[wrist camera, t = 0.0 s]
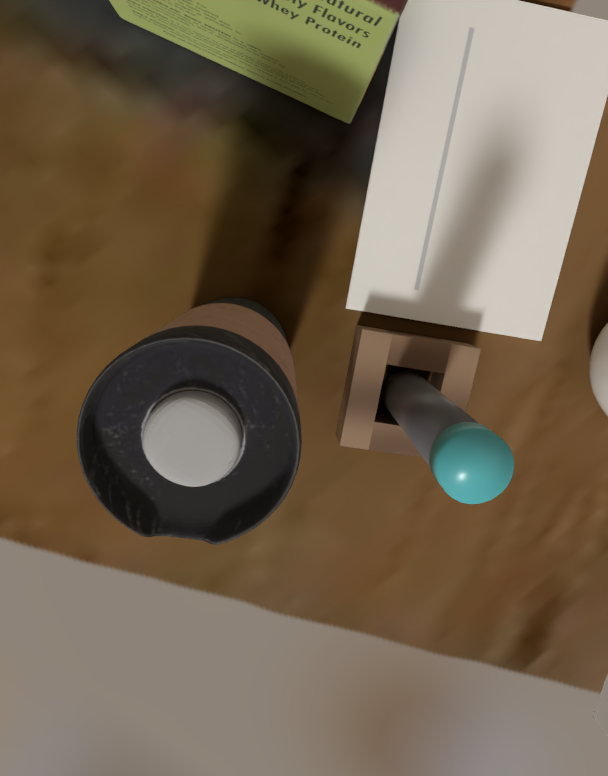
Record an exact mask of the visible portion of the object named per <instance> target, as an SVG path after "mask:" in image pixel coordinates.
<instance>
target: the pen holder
mask: <svg viewBox="0 0 608 776" xmlns="http://www.w3.org/2000/svg"><path fill="white" fill-rule="evenodd" d="M480 351H481V349H480V348H478V347H476V346H473V345H471V344H469V343H464V342H458V341H452V340H446V339H440V338H434V337H428V336H422V335H416V334H410V333H404V332H398V331H392V330H386V329H379V328H373V327H367V326H361V325H357V326H356V332H355V337H354V342H353V347H352V352H351V358H350V363H349V368H348V373H347V379H346V384H345V389H344V394H343V400H342V405H341V410H340V415H339V420H338V426H337V431H336V436H337V439H338V442H339V445H340V446H346V447H353V448H360V449H367V450H374V451H381V452H387V453H394V454H401V455H408V456H415V457H422V455H421V454H420V452H419V451H418V450H417V448H416V447H415V446H414V444H413V443H412V442H411V440H410V439H409V437H408V436H407V435H406V433H405V432H404V431H403V429H402V428H401V427H400V425H399V424H398V423H397V421H396V420H395V418H394V417H393V416H392V415H386V414H380V413H376V411H377V407H378V402H379V397H380V392H381V387H382V382H383V378H384V373H385V368H386V364H388V365H394V366H400V367H407V368H413V369H419V370H425V371H432V372H433V374H432V378H431V383H430V384H431V385H432V386H434V387H435V388H436V389H437V390H439V391H440V392H441V393H442V394H443V395H445V396H446V397H447V398H448V399H450V400H451V401H452V402H453V403H454V404H456V405H457V406H458V407H459V408H461V409H462V410H463V411H464V412H466V408H467V404H468V400H469V396H470V392H471V388H472V384H473V380H474V376H475V371H476V367H477V363H478V359H479V355H480ZM422 458H423V457H422Z"/></svg>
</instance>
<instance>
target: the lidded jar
mask: <svg viewBox="0 0 608 776" xmlns="http://www.w3.org/2000/svg"><path fill="white" fill-rule="evenodd" d="M589 375H590V383H591V387H592V390H593V393H594V395H595V397H596V399H597V401H598V403H599V405H600V407H601V408H602V410H603V411H604V412H605V414H606V415H607V416H608V322H607V324H606V325H605V326H604V328H603V329H602V330H601V332H600V334H599V335H598V337H597V339H596V341H595V343H594V346H593V349H592V352H591V357H590V366H589Z"/></svg>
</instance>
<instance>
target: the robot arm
mask: <svg viewBox="0 0 608 776" xmlns="http://www.w3.org/2000/svg"><path fill="white" fill-rule="evenodd" d="M593 717H594V719H595V720H596V722H597V723H598V725H599V726H600V727H601V729H602V730H603V732H604V733H605V735H606V736H607V738H608V674H607V677H606V680H605V683H604V686H603V688H602V691H601V694H600V697H599V700H598V703H597V706H596V708H595V711H594V714H593Z"/></svg>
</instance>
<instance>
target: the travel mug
mask: <svg viewBox="0 0 608 776" xmlns="http://www.w3.org/2000/svg"><path fill="white" fill-rule="evenodd" d="M301 443H302V441H301V425H300V416H299V407H298V397H297V388H296V378H295V369H294V363H293V358H292V354H291V351H290V348H289V345H288V342H287V339H286V336H285V333H284V331H283V329H282V327H281V325H280V323H279V322H278V320H277V319H276V318H275V316H274V315H273V314H272V313H271V312H270V311H269V310H268V309H266V308H265V307H263V306H262V305H260V304H258V303H256V302H254V301H251V300H249V299H244V298H237V297H229V298H222V299H218V300H215V301H212V302H209V303H206V304H203V305H201V306H198V307H195V308H193V309H191V310H189V311H187V312H185V313H183V314H181V315H180V316H178V317H177V318H175V319H174V320H172V321H171V322H169V323H168V324H166V325H165V326H163V327H161V328H160V329H158V330H157V331H155V332H154V333H152V334H151V335H149V336H148V337H146V338H145V339H143V340H141V341H140V342H138V343H137V344H135V345H134V346H132V347H131V348H129V349H128V350H126V351H125V352H123V353H121V354H120V355H119V356H117V357H116V358H115V359H114V360H113V361H112V362H111V363H110V364H108V365H107V366H106V367H105V369H104V370H103V371H102V372H101V373H100V374H99V376H98V377H97V378H96V380H95V381H94V383H93V384H92V386H91V388H90V389H89V391H88V393H87V395H86V397H85V400H84V402H83V404H82V408H81V411H80V415H79V419H78V427H77V448H78V455H79V461H80V464H81V467H82V471H83V474H84V476H85V478H86V481H87V483H88V485H89V487H90V488H91V490H92V492H93V493H94V495H95V497H96V498H97V499H98V501H99V502H100V503H101V504H102V506H103V507H104V508H105V509H106V510H107V511H108V512H109V513H110V514H111V515H112V516H113V517H114V518H115V519H116V520H118V521H119V522H120V523H121V524H123V525H124V526H125V527H127V528H128V529H130V530H131V531H133V532H135V533H137V534H139V535H141V536H144V537H152V536H170V537H179V538H188V539H196V540H203V541H206V542H208V543H210V544H214V545H216V544H221V543H225V542H228V541H230V540H233V539H235V538H237V537H239V536H241V535H243V534H245V533H247V532H249V531H250V530H252V529H254V528H255V527H257V526H258V525H260V524H261V523H262V522H263V521H264V520H266V519H267V518H268V517H269V516H270V515H271V514H272V513H273V512H274V511H275V510H276V509H277V508H278V506H279V505H280V504H281V502H282V501H283V500H284V498H285V497H286V495H287V493H288V491H289V490H290V488H291V486H292V484H293V481H294V478H295V476H296V473H297V470H298V466H299V461H300V454H301Z"/></svg>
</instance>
